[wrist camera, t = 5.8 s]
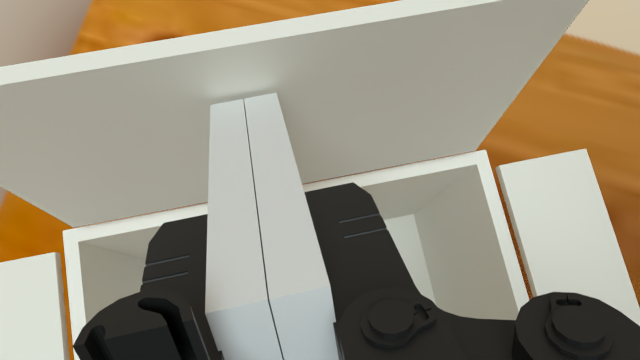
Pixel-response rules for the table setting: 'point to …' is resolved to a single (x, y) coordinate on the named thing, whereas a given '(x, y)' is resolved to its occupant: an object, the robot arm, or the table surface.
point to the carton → (405, 229)
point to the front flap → (260, 79)
